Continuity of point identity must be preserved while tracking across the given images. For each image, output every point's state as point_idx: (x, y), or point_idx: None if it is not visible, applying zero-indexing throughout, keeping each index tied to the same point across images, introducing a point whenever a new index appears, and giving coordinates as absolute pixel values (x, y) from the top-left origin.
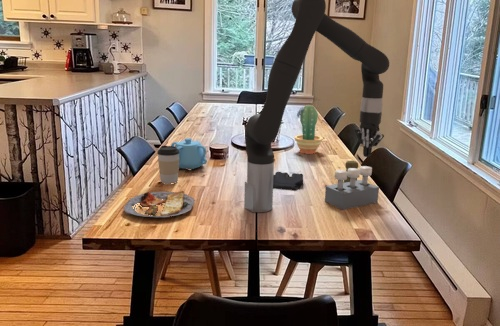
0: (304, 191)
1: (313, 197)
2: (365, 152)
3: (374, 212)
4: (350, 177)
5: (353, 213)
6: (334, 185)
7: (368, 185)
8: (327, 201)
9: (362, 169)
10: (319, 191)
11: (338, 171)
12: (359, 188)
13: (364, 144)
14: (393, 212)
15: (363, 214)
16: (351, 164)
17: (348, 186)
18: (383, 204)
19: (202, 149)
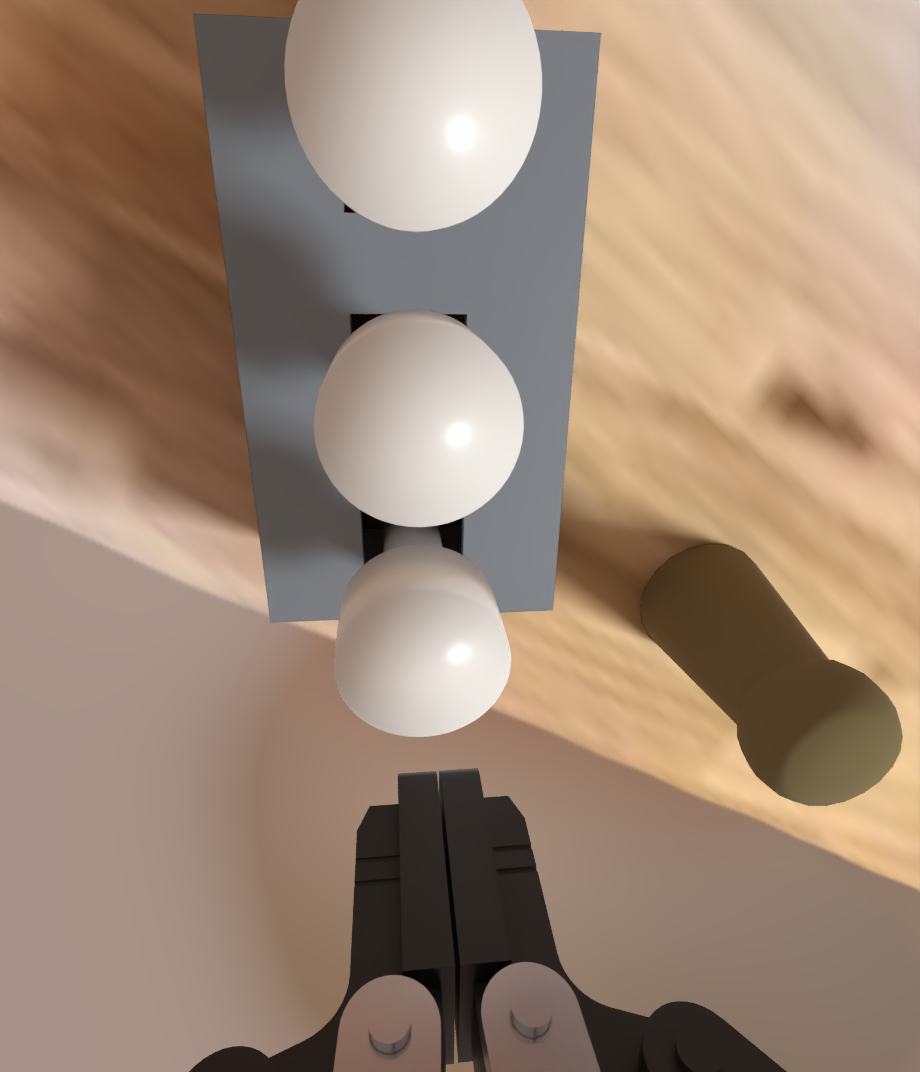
0: (896, 99)
1: (705, 50)
2: (431, 839)
3: (75, 344)
4: (381, 316)
5: (109, 110)
6: (553, 180)
7: (362, 564)
8: None
9: (402, 586)
10: (791, 262)
11: (456, 42)
12: (313, 400)
13: (510, 1033)
14: (29, 501)
15: (53, 195)
16: (800, 713)
17: None
18: (233, 559)
19: None
